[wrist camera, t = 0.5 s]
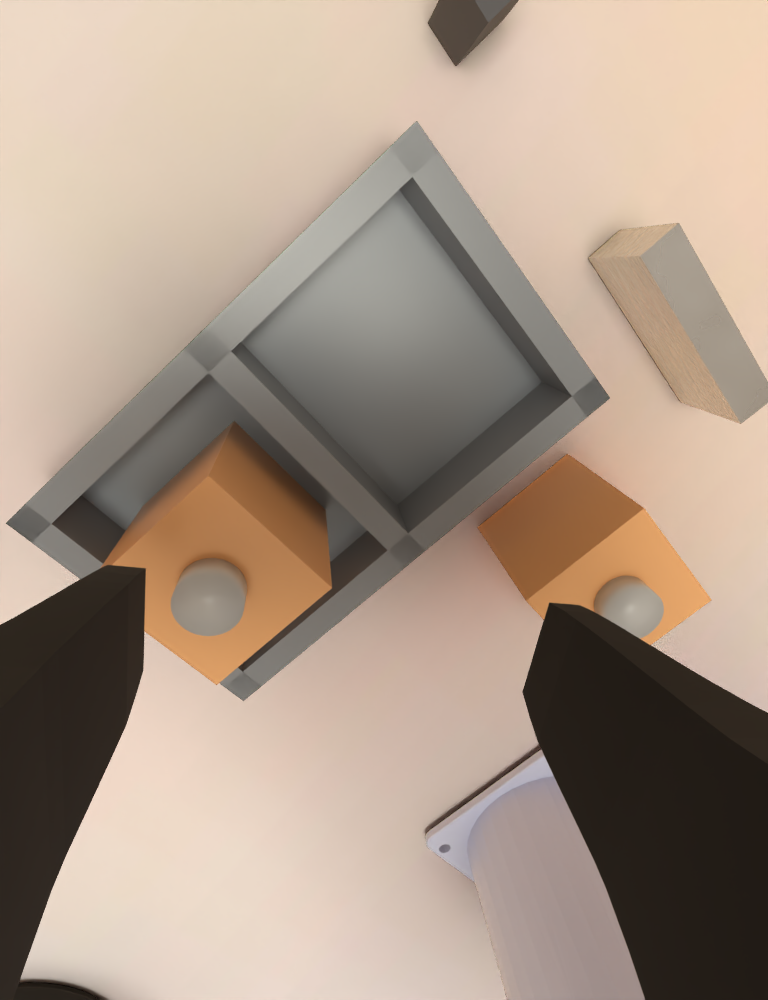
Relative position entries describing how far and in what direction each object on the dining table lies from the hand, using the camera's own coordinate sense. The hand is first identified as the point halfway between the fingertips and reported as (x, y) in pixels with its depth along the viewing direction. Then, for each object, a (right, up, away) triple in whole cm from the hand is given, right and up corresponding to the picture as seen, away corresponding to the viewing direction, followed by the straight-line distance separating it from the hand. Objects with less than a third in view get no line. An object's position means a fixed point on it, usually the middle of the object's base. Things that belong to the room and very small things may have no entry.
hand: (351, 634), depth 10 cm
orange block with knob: (-4, +2, +8) cm, 9 cm away
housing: (-2, +5, +8) cm, 10 cm away
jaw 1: (+7, +1, +11) cm, 13 cm away
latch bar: (+9, +8, +8) cm, 15 cm away
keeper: (+3, +15, +5) cm, 16 cm away
